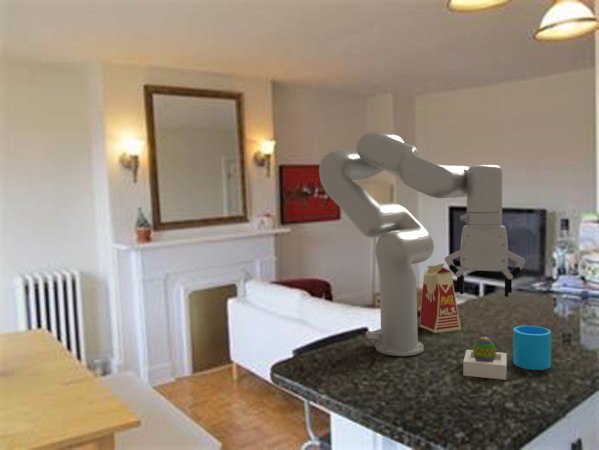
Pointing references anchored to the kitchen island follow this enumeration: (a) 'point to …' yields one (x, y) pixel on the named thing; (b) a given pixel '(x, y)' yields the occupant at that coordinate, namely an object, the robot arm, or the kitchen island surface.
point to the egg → (484, 350)
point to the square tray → (485, 366)
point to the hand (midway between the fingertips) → (483, 294)
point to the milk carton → (439, 301)
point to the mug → (532, 347)
